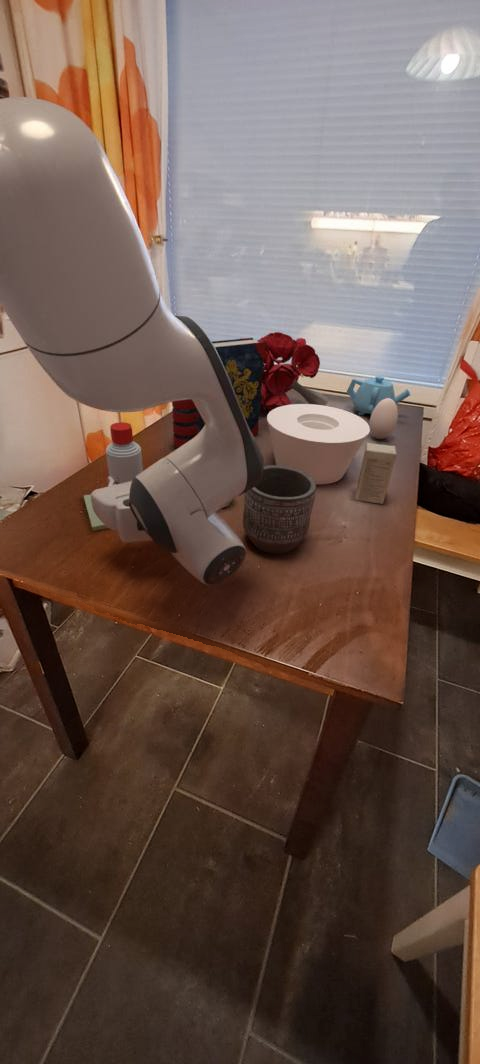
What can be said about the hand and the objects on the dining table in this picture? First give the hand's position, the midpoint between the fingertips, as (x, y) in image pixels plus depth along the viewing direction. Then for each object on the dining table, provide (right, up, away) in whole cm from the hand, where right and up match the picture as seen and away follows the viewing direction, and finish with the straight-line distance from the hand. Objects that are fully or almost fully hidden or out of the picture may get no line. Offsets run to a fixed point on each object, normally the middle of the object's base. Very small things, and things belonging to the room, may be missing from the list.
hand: (137, 473), depth 75 cm
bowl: (+36, +6, +30) cm, 47 cm away
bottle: (-4, -5, +10) cm, 12 cm away
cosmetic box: (+47, -3, +20) cm, 52 cm away
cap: (-3, +8, +1) cm, 9 cm away
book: (+12, +15, +41) cm, 45 cm away
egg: (+59, +17, +49) cm, 78 cm away
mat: (-4, -5, +11) cm, 13 cm away
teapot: (+63, +29, +66) cm, 96 cm away
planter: (+25, -12, +5) cm, 28 cm away
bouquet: (+32, +30, +64) cm, 77 cm away
